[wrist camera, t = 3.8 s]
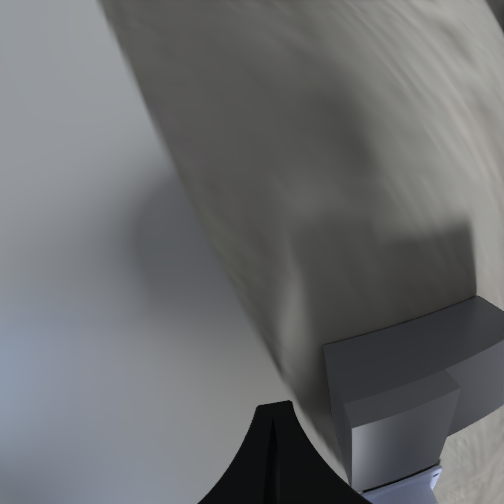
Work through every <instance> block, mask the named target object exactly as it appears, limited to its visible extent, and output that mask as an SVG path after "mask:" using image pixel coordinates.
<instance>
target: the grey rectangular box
mask: <svg viewBox="0 0 504 504" xmlns="http://www.w3.org/2000/svg"><path fill="white" fill-rule="evenodd" d="M323 349H324V356H325V364H326V372H327V380H328V388H329V396H330V405H331V415H332V420H333V424H334V427H335V431H336V435H337V439H338V442H339V446H340V450H341V454H342V458H343V461H344V465H345V469H346V473H347V477H348V481H349V485H350V487H351V488H352V489H354V490H355V491H356V492H359V491H363V490H366V489H370V488H373V487H376V486H379V485H383V484H386V483H388V482H391V481H394V480H397V479H400V478H402V477H405V476H408V475H410V474H413V473H415V472H418V471H420V470H422V469H425V468H427V467H429V466H432V465H434V464H436V463H437V462H438V459H439V457H440V454H441V452H442V449H443V446H444V443H445V440H446V438H447V437H448V436H450V435H452V434H454V433H456V432H458V431H460V430H462V429H463V428H465V427H467V426H469V425H471V424H473V423H474V422H476V421H478V420H480V419H481V418H483V417H485V416H487V415H488V414H490V413H491V412H493V411H495V410H496V409H498V408H499V407H501V406H503V404H504V311H502V310H501V309H499V308H498V307H496V306H495V305H493V304H491V303H490V302H488V301H487V300H485V299H483V298H482V297H480V296H479V295H478V296H476V297H474V298H471V299H469V300H466V301H464V302H461V303H459V304H456V305H453V306H451V307H448V308H446V309H443V310H440V311H437V312H435V313H432V314H429V315H426V316H423V317H420V318H417V319H414V320H411V321H408V322H405V323H402V324H399V325H396V326H393V327H389V328H386V329H383V330H379V331H376V332H373V333H369V334H366V335H362V336H358V337H355V338H351V339H347V340H343V341H339V342H335V343H331V344H327V345H323Z"/></svg>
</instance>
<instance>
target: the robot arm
mask: <svg viewBox="0 0 504 504" xmlns="http://www.w3.org/2000/svg"><path fill="white" fill-rule="evenodd" d="M442 469H443V468H442V466H441V465H438V466H435V467H433V468H431V469H429V470H426V471H424V472H422V473H419V474H417V475H414V476H412V477H409V478H407V479H404V480H402V481H399V482H396V483H393V484H390V485H387V486H385V487H381V488H378V489H375V490H372V491H369V492H365V493H362V494H359V493H357V492H356V491H355V490H354V489H352V488H351V487H350V486H349V485H348V484H347V483H346V482H344V481H343V480H342V479H341V478H340V477H339V476H338V475H337V474H336V473H335V472H334V471H333V470H332V469H331V468H330V466H329V465H328V464H327V463H326V462H325V461H324V460H323V458H322V457H321V456H320V454H319V453H318V452H317V451H316V449H315V448H314V447H313V445H312V444H311V442H310V441H309V439H308V437H307V436H306V434H305V432H304V431H303V429H302V427H301V425H300V423H299V421H298V419H297V417H296V414H295V412H294V408H293V403H292V401H290V400H287V401H282V402H276V403H271V404H264V405H259V406H257V407H256V411H255V414H254V417H253V420H252V423H251V425H250V428H249V430H248V432H247V434H246V436H245V438H244V441H243V443H242V445H241V447H240V449H239V450H238V452H237V454H236V456H235V457H234V459H233V461H232V462H231V464H230V466H229V467H228V469H227V470H226V472H225V473H224V474H223V476H222V477H221V478H220V480H219V481H218V482H217V483H216V485H215V486H214V487H213V488H212V489H211V491H210V492H209V493H208V494H207V495H206V496H205V497H204V498H203V499H202V500H201V501H200V502H199V503H198V504H438V502H437V500H436V498H435V496H434V493H433V491H432V490H433V488H434V486H435V484H436V482H437V480H438V478H439V476H440V473H441V471H442Z"/></svg>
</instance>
